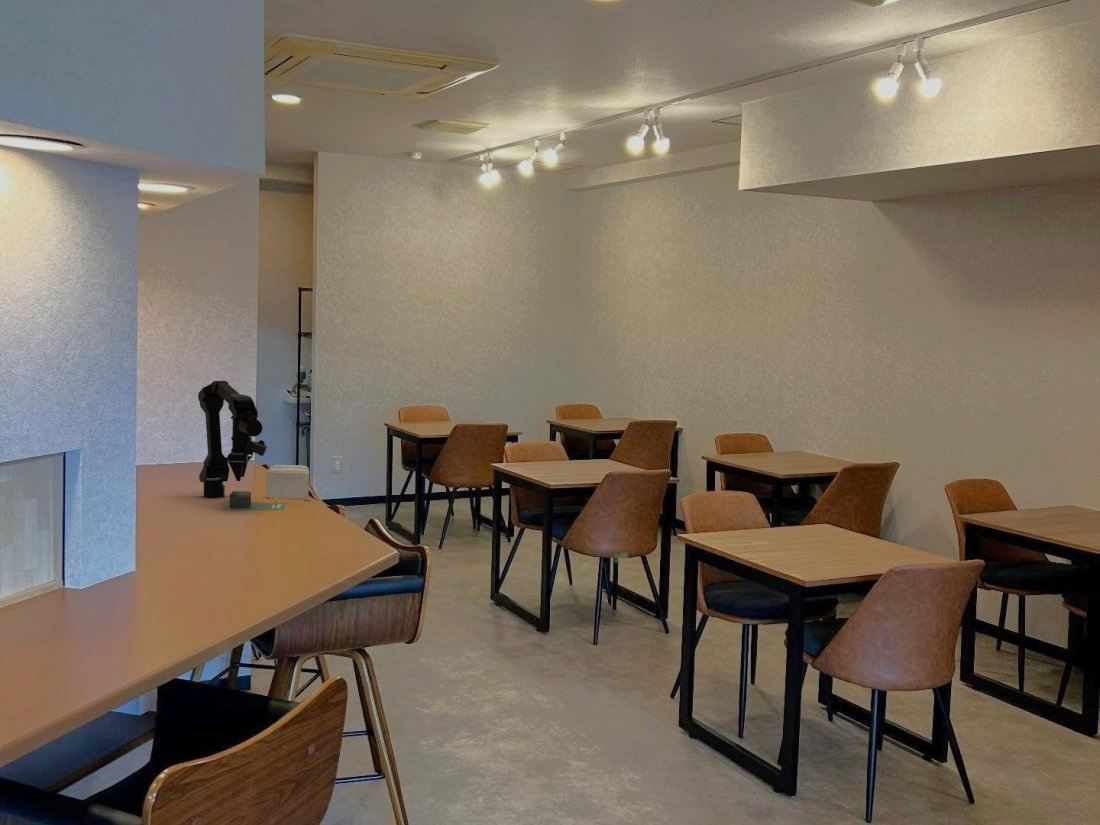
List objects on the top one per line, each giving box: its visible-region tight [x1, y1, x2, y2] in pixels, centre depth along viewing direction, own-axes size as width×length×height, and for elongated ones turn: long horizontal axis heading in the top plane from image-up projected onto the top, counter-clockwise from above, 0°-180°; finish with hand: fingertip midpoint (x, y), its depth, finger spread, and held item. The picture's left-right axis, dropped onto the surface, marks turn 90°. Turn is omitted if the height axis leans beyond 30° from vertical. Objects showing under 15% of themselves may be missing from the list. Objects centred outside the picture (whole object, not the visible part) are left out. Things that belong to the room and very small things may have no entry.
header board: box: [221, 496, 288, 511], centre depth 350 cm, size 20×14×4 cm
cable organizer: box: [265, 464, 310, 500], centre depth 372 cm, size 15×11×12 cm
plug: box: [229, 490, 252, 508], centre depth 349 cm, size 6×7×4 cm
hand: (240, 479), depth 349 cm, fingers open, 9 cm apart
